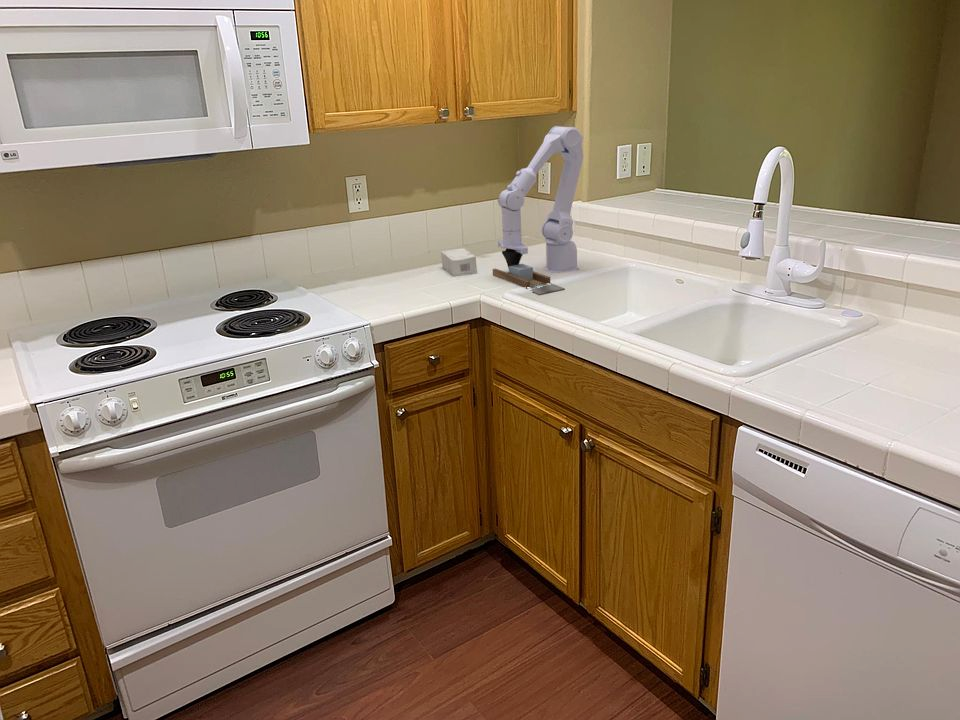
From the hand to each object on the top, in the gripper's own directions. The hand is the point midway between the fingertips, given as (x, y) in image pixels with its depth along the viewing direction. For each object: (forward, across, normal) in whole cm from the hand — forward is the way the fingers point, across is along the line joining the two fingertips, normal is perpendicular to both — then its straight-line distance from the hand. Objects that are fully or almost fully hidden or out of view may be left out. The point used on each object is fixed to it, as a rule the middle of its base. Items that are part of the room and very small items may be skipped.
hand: (513, 272), depth 228 cm
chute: (+2, +8, 0) cm, 8 cm away
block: (+1, +4, 0) cm, 5 cm away
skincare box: (-1, -12, -11) cm, 16 cm away
